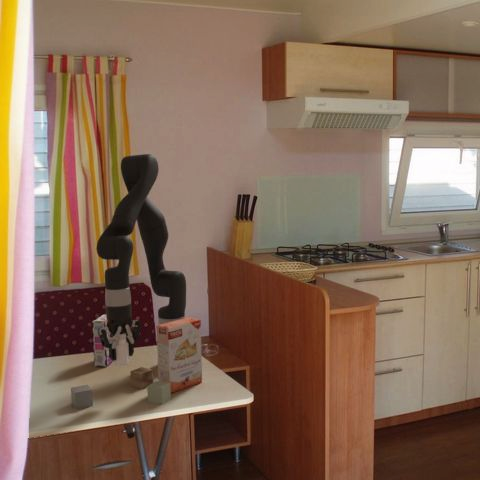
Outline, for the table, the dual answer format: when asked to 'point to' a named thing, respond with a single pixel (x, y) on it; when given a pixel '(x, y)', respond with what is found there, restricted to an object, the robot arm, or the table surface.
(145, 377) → the walnut block
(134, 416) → the table surface
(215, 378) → the table surface
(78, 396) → the slate grey block
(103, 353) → the candy bar box
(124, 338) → the salt shaker
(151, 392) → the sage green block
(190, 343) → the cracker box
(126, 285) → the robot arm
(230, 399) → the table surface
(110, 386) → the table surface
